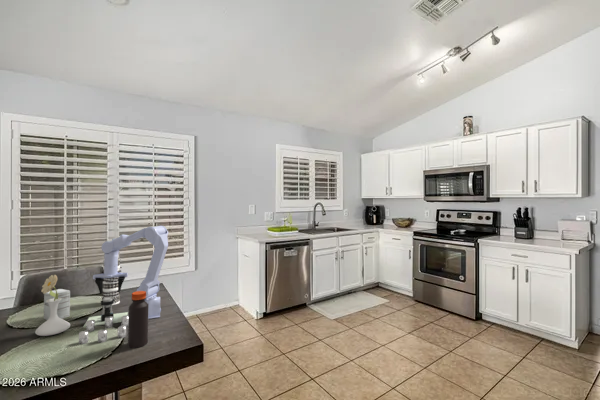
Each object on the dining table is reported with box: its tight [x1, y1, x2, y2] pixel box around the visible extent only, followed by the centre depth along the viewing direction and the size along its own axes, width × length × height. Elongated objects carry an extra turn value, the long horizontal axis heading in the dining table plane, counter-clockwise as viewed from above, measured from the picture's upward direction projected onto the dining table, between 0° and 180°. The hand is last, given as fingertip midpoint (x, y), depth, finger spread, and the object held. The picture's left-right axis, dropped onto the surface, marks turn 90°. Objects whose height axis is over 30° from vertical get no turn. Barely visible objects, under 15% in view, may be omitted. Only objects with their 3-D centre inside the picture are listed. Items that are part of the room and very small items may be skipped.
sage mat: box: [82, 311, 129, 328], centre depth 138 cm, size 16×12×1 cm
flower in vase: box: [35, 274, 71, 337], centre depth 124 cm, size 13×11×25 cm
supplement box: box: [43, 288, 71, 321], centre depth 140 cm, size 7×7×13 cm
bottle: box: [127, 291, 149, 349], centre depth 115 cm, size 7×7×20 cm
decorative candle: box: [101, 257, 122, 306], centre depth 161 cm, size 9×9×25 cm
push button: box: [97, 297, 114, 322], centre depth 137 cm, size 7×5×10 cm
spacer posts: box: [78, 314, 129, 345], centre depth 124 cm, size 16×18×4 cm
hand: (110, 292), depth 146 cm, fingers open, 7 cm apart
